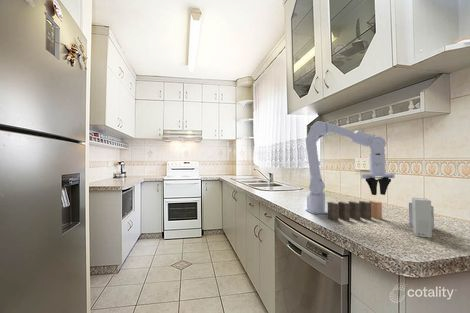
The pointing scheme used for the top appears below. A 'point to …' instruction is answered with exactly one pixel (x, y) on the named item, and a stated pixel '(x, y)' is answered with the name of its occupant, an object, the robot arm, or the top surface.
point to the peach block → (376, 209)
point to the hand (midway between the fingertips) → (378, 194)
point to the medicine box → (412, 218)
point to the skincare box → (421, 217)
